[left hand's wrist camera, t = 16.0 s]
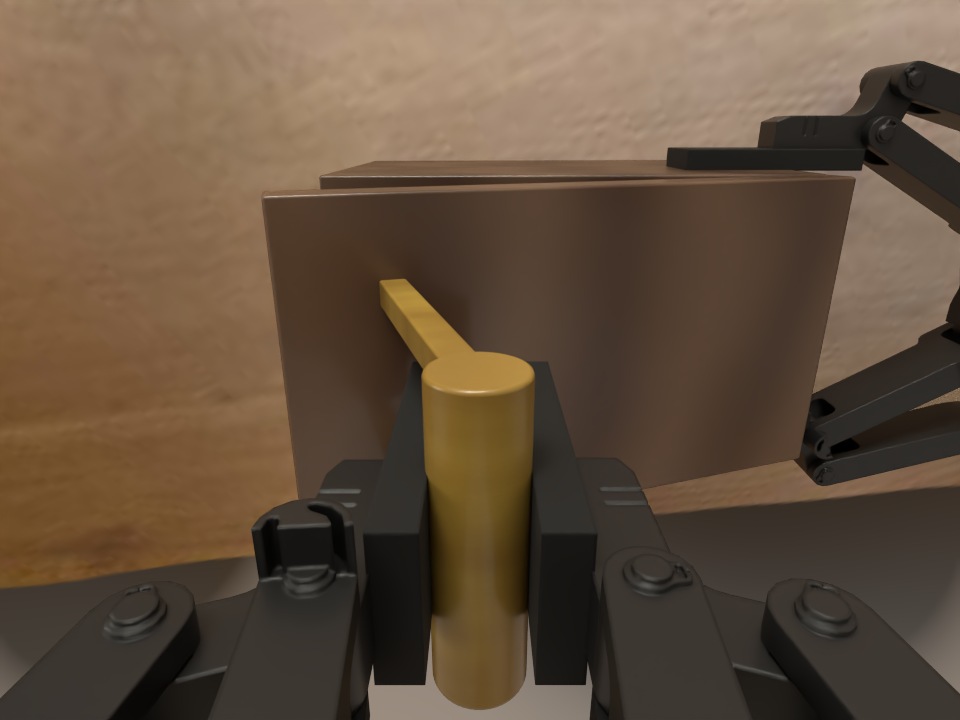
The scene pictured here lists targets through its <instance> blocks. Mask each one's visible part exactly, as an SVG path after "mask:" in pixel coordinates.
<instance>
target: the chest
mask: <svg viewBox="0 0 960 720" xmlns="http://www.w3.org/2000/svg"><path fill="white" fill-rule="evenodd" d="M666 162H667V160H616V161H374V162H371V163H367V164H363V165H360V166H356V167H352V168H348V169H344V170H341V171H337V172H333V173H329V174H325V175H322V176H320V189H321V190H322V189H356V188H390V187H424V186H457V185H491V184H525V183H559V182H593V181H627V180H661V179H695V178H729V177H763V176H797V175H825V174H820V173H811V172H803V171H795V170H683V169H677V168H672V167H667V166H666Z"/></svg>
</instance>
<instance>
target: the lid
mask: <svg viewBox="0 0 960 720" xmlns="http://www.w3.org/2000/svg"><path fill="white" fill-rule="evenodd" d="M854 185H855V178H854V177H848V176H834V175H797V176H763V177H729V178H695V179H661V180H627V181H593V182H559V183H525V184H491V185H457V186H424V187H390V188H356V189H322V190H288V191H264V192H263V193H262V207H263V215H264V223H265V232H266V240H267V248H268V256H269V264H270V272H271V280H272V288H273V296H274V304H275V312H276V320H277V328H278V337H279V345H280V353H281V361H282V369H283V377H284V385H285V393H286V401H287V409H288V417H289V425H290V433H291V442H292V450H293V458H294V466H295V474H296V482H297V490H298V498H299V500H302V499H308V498H316V496H317V494H318V493H319V489H320V487H321V485H322V483H323V480H324V478H325V476H326V474H327V473H328V472H329V471H330V470H332V469H333V468H334V467H335V466H336V465H338V464H339V463H340V462H341V461H342V460H384V458H385V455H386V451H387V448H388V444H389V441H390V437H391V434H392V431H393V427H394V424H395V420H396V417H397V413H398V410H399V407H400V403H401V400H402V396H403V393H404V389H405V386H406V383H407V379H408V376H409V372H410V369H411V365H412V362H413V361H418V362H419V364H420V365H421V367H422V368H423V372H422V375H421V381H422V407H423V432H424V458H425V472H426V475H427V478H428V506H429V535H430V563H431V591H432V621H431V636H432V662H433V676H434V680H435V683H436V685H437V687H438V688H439V690H440V691H441V693H442V694H443V695H444V696H445V697H446V698H447V699H448V700H450V701H451V702H453V703H454V704H456V705H458V706H461V707H464V708H468V709H474V710H485V709H491V708H495V707H498V706H500V705H503V704H505V703H506V702H508V701H509V700H511V699H512V698H513V697H514V696H515V695H516V694H517V693H518V691H519V690H520V688H521V687H522V685H523V683H524V680H525V677H526V664H527V631H528V585H529V555H530V524H531V493H532V468H533V436H534V404H535V373H534V370H533V368H532V366H531V365H530V364H528V363H527V362H526V361H548V364H549V367H550V371H551V374H552V377H553V381H554V384H555V388H556V391H557V395H558V398H559V401H560V405H561V408H562V412H563V415H564V419H565V422H566V425H567V429H568V432H569V436H570V439H571V443H572V446H573V449H574V453H575V456H576V458H618V459H619V460H621V461H622V462H623V463H624V464H625V465H627V466H628V467H629V468H630V469H632V470H633V471H634V472H635V475H636V477H637V479H638V481H639V483H640V486H641V488H642V489H646V488H651V487H656V486H661V485H666V484H671V483H676V482H681V481H687V480H692V479H697V478H702V477H707V476H712V475H717V474H722V473H727V472H732V471H737V470H742V469H747V468H752V467H757V466H762V465H767V464H772V463H777V462H782V461H787V460H792V459H797V458H799V456H800V451H801V446H802V441H803V437H804V432H805V427H806V422H807V417H808V412H809V407H810V402H811V397H812V392H813V387H814V382H815V377H816V372H817V368H818V363H819V358H820V353H821V348H822V343H823V338H824V333H825V328H826V323H827V318H828V313H829V308H830V303H831V298H832V294H833V289H834V284H835V279H836V274H837V269H838V264H839V259H840V254H841V249H842V244H843V239H844V234H845V229H846V225H847V220H848V215H849V210H850V205H851V200H852V195H853V190H854Z"/></svg>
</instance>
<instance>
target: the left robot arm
mask: <svg viewBox="0 0 960 720" xmlns="http://www.w3.org/2000/svg"><path fill="white" fill-rule="evenodd" d="M526 362H527V363H528V364H530V365H531V366H532V368H533V370H534V373H535V404H534V436H533V468H532V493H531V524H530V555H529V585H528V616H529V626H530V636H531V646H532V656H533V667H534V677H535V685H586V675H587V662H588V665H589V670H590V675H591V680H592V685H593V688H592V699H591V711H590V720H960V694H959V693H958V692H957V691H956V690H955V689H954V688H953V687H952V686H951V685H950V684H949V683H948V682H947V681H946V680H945V679H944V678H943V677H942V676H941V675H940V674H939V673H938V672H937V671H936V670H935V669H934V668H932V666H931V665H929V664H928V663H927V662H926V661H925V660H924V659H923V658H922V657H921V656H920V655H919V654H918V653H917V652H916V651H915V650H914V649H913V648H912V647H911V646H910V645H909V644H908V643H907V642H906V641H905V640H904V639H903V638H902V637H901V636H900V635H898V634H897V633H896V632H895V631H894V630H893V629H892V628H891V627H890V626H889V625H888V624H887V623H886V622H885V621H884V620H883V619H882V618H881V617H880V616H879V615H878V614H877V613H876V612H875V611H874V610H873V609H872V608H870V607H869V606H868V605H866V604H865V603H864V602H862V601H861V600H860V599H858V598H857V597H856V596H854V595H853V594H851V593H849V592H847V591H844V590H842V589H840V588H838V587H836V586H834V585H831V584H828V583H823V582H820V581H816V580H812V579H789V580H785V581H782V582H779V583H776V584H775V585H774V586H773V587H772V589H771V590H770V591H769V592H768V595H767V600H766V603H764V602H760V601H756V600H751V599H747V598H743V597H738V596H734V595H729V594H726V593H723V592H720V591H716V590H714V589H711V588H709V587H707V586H705V585H703V583H702V581H701V579H700V577H699V575H698V574H697V573H696V571H695V569H694V568H693V566H691V565H690V564H689V563H687V562H686V561H685V560H683V559H682V558H681V557H679V556H677V555H675V554H673V553H671V552H670V550H669V548H668V546H667V543H666V541H665V539H664V537H663V534H662V532H661V530H660V528H659V526H658V523H657V521H656V519H655V517H654V514H653V512H652V510H651V508H650V506H649V505H648V501H647V499H646V497H645V494H644V492H643V491H642V488H641V486H640V483H639V481H638V479H637V477H636V475H635V472H634V471H633V470H632V469H630V468H629V467H628V466H627V465H625V464H624V463H623V462H622V461H621V460H619V459H618V458H576V456H575V453H574V449H573V446H572V443H571V439H570V436H569V432H568V429H567V425H566V422H565V419H564V415H563V412H562V408H561V405H560V401H559V398H558V395H557V391H556V388H555V384H554V381H553V377H552V374H551V371H550V367H549V364H548V361H526ZM422 372H423V368H422V367H421V365H420V364H419V362H418V361H413V362H412V365H411V369H410V372H409V376H408V379H407V383H406V386H405V389H404V393H403V396H402V400H401V403H400V407H399V410H398V413H397V417H396V420H395V424H394V427H393V431H392V434H391V437H390V441H389V444H388V448H387V451H386V455H385V458H384V460H342V461H341V462H340V463H339V464H338V465H336V466H335V467H334V468H333V469H332V470H330V471H329V472H328V473H327V474H326V476H325V478H324V480H323V483H322V485H321V487H320V489H319V493H318V494H317V496H316V498H308V499H302V500H295V501H291V502H288V503H285V504H283V505H280V506H277V507H274V508H273V509H271V510H270V511H268V512H267V513H265V514H264V515H262V516H261V517H260V518H259V519H258V520H257V522H256V523H255V524H254V526H253V527H252V528H251V530H252V537H253V543H254V550H255V556H256V563H257V569H258V575H259V582H258V585H257V587H256V588H255V589H253V590H251V591H248V592H246V593H243V594H239V595H236V596H233V597H230V598H225V599H221V600H216V601H212V602H207V603H203V604H199V605H195V602H194V597H193V594H192V593H191V592H190V591H189V590H188V589H187V588H186V587H185V586H184V585H180V584H177V583H174V582H171V581H161V582H148V583H144V584H140V585H136V586H132V587H129V588H126V589H124V590H122V591H120V592H118V593H116V594H114V595H112V596H110V597H108V598H106V599H105V600H104V601H102V602H101V603H100V604H99V605H97V606H96V607H95V608H93V609H92V610H91V611H89V612H88V613H87V614H86V615H85V616H84V617H83V618H82V619H81V620H80V621H79V622H78V623H77V624H76V625H75V626H74V627H73V628H72V629H71V630H70V631H69V632H68V633H67V634H66V635H65V636H64V637H63V638H62V639H61V640H60V641H59V642H58V643H57V644H56V645H55V646H54V647H53V648H51V650H49V651H48V652H47V653H46V654H45V655H44V656H43V657H42V658H41V659H40V660H39V661H38V662H37V663H36V664H35V665H34V666H33V667H32V668H31V669H30V670H29V671H28V672H27V673H26V674H25V675H24V676H23V677H22V678H21V679H20V680H19V681H18V682H17V683H16V684H15V685H14V686H13V687H12V688H10V689H9V690H8V691H7V692H6V693H5V694H4V695H3V696H2V697H1V698H0V720H370V711H369V699H368V685H369V680H370V675H371V670H372V666H373V669H374V682H375V685H425V682H426V671H427V661H428V651H429V641H430V631H431V621H432V591H431V563H430V535H429V506H428V478H427V475H426V472H425V458H424V432H423V407H422V381H421V375H422Z"/></svg>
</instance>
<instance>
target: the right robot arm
mask: <svg viewBox="0 0 960 720" xmlns="http://www.w3.org/2000/svg"><path fill="white" fill-rule="evenodd" d="M860 93H861V94H860V96H859V98H858V100H857V102H856V103H855V105H854V106H853V108H852V109H851V110H850V111H848V112H847V113H845V114H843V115H841V116H779V117H773V118H770V119H768V120H766V121H763V122H761V127H760V134H759V141H758V147H757V148H668V152H667V162H666V166H667V167H672V168H677V169H683V170H795V171H861V170H862V165H863V164H864V165H866V166H867V167H869V168H870V169H871V170H873V171H874V172H876V173H877V174H879V175H880V176H882V177H883V178H884V179H886V180H887V181H889V182H890V183H892V184H893V185H895V186H896V187H898V188H899V189H900V190H902V191H903V192H905V193H906V194H908V195H909V196H911V197H912V198H914V199H915V200H916V201H918V202H919V203H921V204H922V205H924V206H925V207H927V208H928V209H929V210H931V211H932V212H934V213H935V214H937V215H938V216H940V217H941V218H943V219H944V220H945V221H947V222H948V223H949V225H948V226H949V227H950V228H951V229H953V230H954V231H956V232H957V233H958V234H960V163H959V162H958V161H956V160H955V159H953V158H952V157H951V156H949V155H948V154H946V153H945V152H944V151H942V150H941V149H939V148H938V147H937V146H935V145H934V144H932V143H931V142H930V141H928V140H927V139H925V138H924V137H923V136H921V135H920V134H918V133H917V132H916V131H914V130H913V129H911V128H910V127H909V126H907V125H906V124H904V123H903V122H902V119H903V117H904V115H905V113H907V114H910V115H913V116H916V117H919V118H922V119H925V120H928V121H931V122H934V123H937V124H940V125H942V126H945V127H948V128H951V129H954V130H957V131H960V74H959V73H956V72H953V71H950V70H947V69H945V68H942V67H939V66H936V65H933V64H930V63H927V62H924V61H914V62H908V63H902V64H896V65H890V66H884V67H878V68H874V69H871V70H870V71H868V72H867V73H866V74H865V75H864V77H863V78H862V80H861V83H860ZM946 321H947V322H948V323H946V324H944V325H942V326H940V327H938V328H936V329H934V330H932V331H929V332H927V333H925V334H923V335H922V336H920V338H919V342H918V344H916V345H915V346H913V347H910V348H908V349H906V350H904V351H902V352H900V353H898V354H896V355H894V356H892V357H890V358H887V359H885V360H883V361H881V362H879V363H877V364H875V365H873V366H871V367H869V368H866V369H864V370H862V371H860V372H858V373H856V374H854V375H852V376H850V377H848V378H845V379H843V380H841V381H839V382H837V383H835V384H833V385H831V386H829V387H827V388H824V389H822V390H820V391H818V392H816V393H814V394H812V397H811V402H810V407H809V412H808V417H807V422H806V427H805V432H804V437H803V441H802V446H801V451H800V456H799V458H797V459H793V460H794V461H795V462H796V463H797V464H798V465H799V466H800V467H801V468H802V469H803V470H804V471H805V473H806V474H807V475H808V476H809V477H810V478H811V479H812V480H813V481H814V482H815V483H816V484H817V485H820V486H828V485H832V484H837V483H841V482H845V481H849V480H854V479H858V478H862V477H866V476H870V475H875V474H879V473H883V472H887V471H892V470H896V469H900V468H904V467H908V466H913V465H917V464H921V463H925V462H930V461H934V460H938V459H942V458H946V457H951V456H955V455H959V454H960V401H955V402H945V403H940V404H935V405H931V406H927V407H923V408H919V409H915V410H912V409H914V408H916V407H918V406H920V405H922V404H925V403H927V402H929V401H931V400H933V399H936V398H938V397H940V396H942V395H944V394H946V393H949V392H951V391H953V390H955V389H957V388H960V287H959V289H958V291H957V293H956V295H955V296H954V298H953V300H952V302H951V304H950V307H949V310H948V314H947V318H946ZM909 410H911V411H909Z"/></svg>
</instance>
